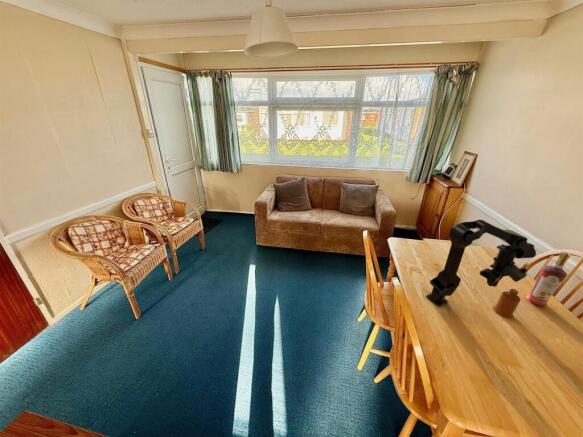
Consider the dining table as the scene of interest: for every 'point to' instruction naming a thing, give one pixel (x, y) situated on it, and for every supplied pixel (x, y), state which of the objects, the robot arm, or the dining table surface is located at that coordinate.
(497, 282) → the cap
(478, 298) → the dining table surface
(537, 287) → the liquor
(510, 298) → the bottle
